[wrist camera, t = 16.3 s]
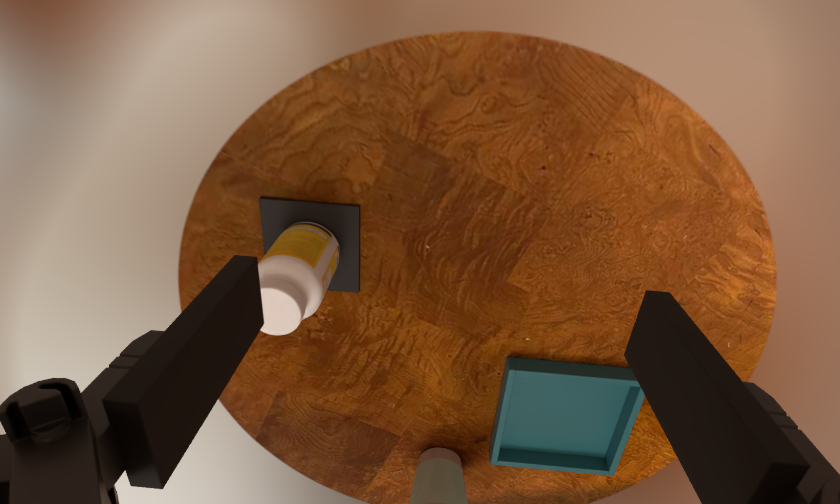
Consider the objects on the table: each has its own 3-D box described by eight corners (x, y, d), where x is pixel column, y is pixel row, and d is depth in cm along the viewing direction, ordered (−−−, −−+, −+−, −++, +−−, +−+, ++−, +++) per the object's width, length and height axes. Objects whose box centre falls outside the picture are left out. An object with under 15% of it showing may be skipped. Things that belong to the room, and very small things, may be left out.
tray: (642, 368, 52) (650, 382, 50) (608, 461, 59) (613, 476, 57) (506, 356, 52) (509, 369, 50) (488, 450, 60) (490, 464, 58)
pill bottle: (273, 221, 46) (222, 279, 36) (336, 217, 45) (302, 275, 35) (288, 277, 49) (244, 345, 38) (347, 273, 48) (318, 342, 38)
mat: (359, 205, 45) (359, 206, 45) (359, 291, 50) (358, 293, 49) (260, 197, 45) (258, 198, 45) (268, 283, 50) (267, 285, 49)
